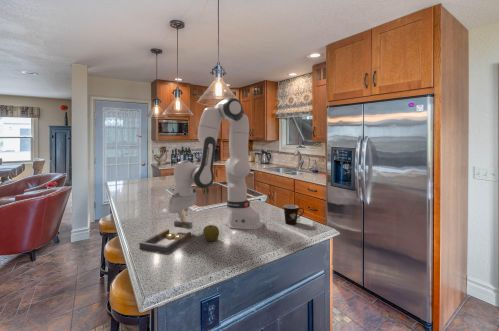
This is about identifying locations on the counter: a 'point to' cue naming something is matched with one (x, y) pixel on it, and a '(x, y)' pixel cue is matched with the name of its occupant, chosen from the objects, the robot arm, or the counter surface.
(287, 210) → the coffee mug
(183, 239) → the walnut slot rails
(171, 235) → the brass chip
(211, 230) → the apple
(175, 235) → the brass chip
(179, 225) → the grey post with peg
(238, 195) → the robot arm
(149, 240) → the grey angled bracket
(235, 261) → the counter surface
